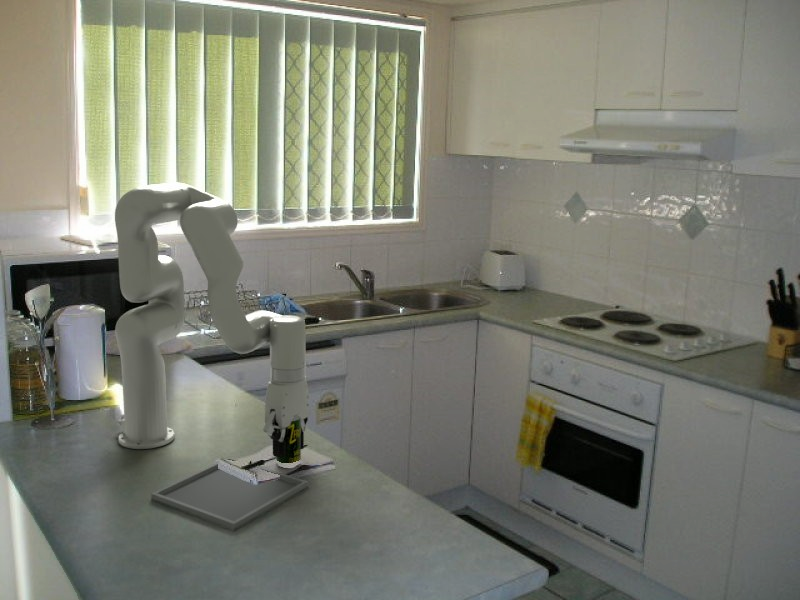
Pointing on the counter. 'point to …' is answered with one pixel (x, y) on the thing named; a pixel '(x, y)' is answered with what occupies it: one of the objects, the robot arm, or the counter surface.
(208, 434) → the counter surface
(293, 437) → the beer can
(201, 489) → the grey rimmed serving tray
